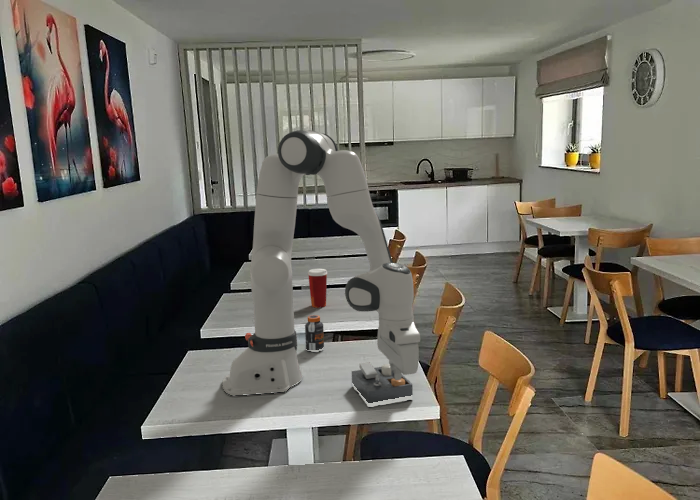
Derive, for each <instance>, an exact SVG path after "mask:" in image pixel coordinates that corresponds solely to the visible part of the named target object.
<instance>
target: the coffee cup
mask: <svg viewBox="0 0 700 500" xmlns="http://www.w3.org/2000/svg"><path fill="white" fill-rule="evenodd" d="M327 275H328V271H327V269H326V268H312V269H309V270H308V272H307V276H308V285H309V286H308V287H309V294H310V303H311V307H312V308H316V309H317V308H318V309H321V308H325V307H327V282H328V281H327V280H328V279H327V277H328V276H327Z"/></svg>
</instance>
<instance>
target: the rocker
mask: <svg viewBox="0 0 700 500" xmlns="http://www.w3.org/2000/svg"><path fill="white" fill-rule="evenodd" d="M374 368H375V367H374V366H373V365H372V363H371V361H368V362H367V361H366V362H360V363H359V370H361V371H362V372H363V374H364V375H365V377H366V379H370V378H376V375H377V372H376V370H375V369H374Z"/></svg>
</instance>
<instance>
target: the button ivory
mask: <svg viewBox="0 0 700 500" xmlns="http://www.w3.org/2000/svg"><path fill="white" fill-rule="evenodd" d="M381 367H382V375H383V376H390V375H391V368H390V364H389V363H385V364H382V365H381Z"/></svg>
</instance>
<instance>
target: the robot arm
mask: <svg viewBox="0 0 700 500" xmlns="http://www.w3.org/2000/svg"><path fill="white" fill-rule="evenodd" d="M305 175H306V176H311V175H312V176H315V175H317V176H319V177H320V179H321V180H322V181H323V182H322V183H323V185H324V190H325V195H326V200H327V206H328V209H329V212H330V215H331V217H332V220H333V221H334V222H335V223H336V224H338V225H339V226H341V227H342V228H343V229H348V230H350V231H352V232H354V233H355V234H357V235H358V237H360V239H361V240H362V242H363V246H364V250H365V252H366V253H365V254H366V256H367V259H368V264H369V271H367V272H363V273H360V274H358V275H355V276H353V277H352V278H350V279H349V280H348V281H347V283H346V285H345V287H344V288H345V289H344V295H345V300H346V302H347V303H348V305H349V306H350V307H351V308H352V309H353V310H355V311H356V312H374V311H375V312H378V327H377V328H378V329H377V341H376V342H377V343H376V345H377V350H379V352H380V353H382V354H383V356H385V358H386V359H387V360H388V364H390V368H391V376H392V377H393V378H394V379H395V380H400V379H401V374H402V375H403V376H407V375H408V376H409V375H414V374H416V373H418V369H419V360H420V358H419V357H420V356H419V354H420V351H419V343H420V342H421V333H420V332H419V331H418V329H417V326H416V324H415V322H414V310H413V303H414V298H415V296H414V280H413V274H412V271H411V270H410V268H409V267H407V266H406V265H404V264H401V263H396V262H393V259H392V258H393V257H392V256H391V252H390V248H389V245H388V241H387V238H386V234H385V231H384V228H383V224H382V222H381V220H380V217H379V216H378V214H377V212H376V210H375V208H374V205H373V202H372V198H371V194H370V190H369V185H368V179H367V177H366V173H365V170H364V167H363V164H362V162H361V160H360V157H359V156H358V155H357V153H355V152H354V151H351V150H348V149H347V150H346V149H344V150H343V149H340V150H339V147H338V144H337V142H336V141H335V140H334V139H333V138H332V137H331V136H329V135H328V134H326V133H322V132H319V131H316V130H301V129H298V130H294V131H290V132H288V133H287V134H285V135H284V136H283V137H282V138H281V140H280V141H279V144H278V147H277V153H271V154H269V155H267V156H266V157H264V158H263V161H262V163H261V166H260V171H259V174H258V179H257V185H256V197H255V209H254V221H253V222H254V223H253V224H254V225H253V240H252V254H251V261H250V267H249V274H250V286H251V295H252V296H251V297H252V305H253V321H254V333H251V332H246V333H245V335H244V337H245V340H246V341H247V342H248V345H247V346H248V347H247V348H246V349H245V350H243V352H241V353H240V354H239V355H238V356H236V357H235V358H234V359H233V360H232V362H231V365H230V369H229V374H226V376H224V378H222V379H223V380H222V384H221V386H222V385H223V386H222V390H223V389H224V390H223V392H224V391H225V392H226V393H228V394H230V395H243V394H256V393H271V392H284V391H287V390H288V389H289V388H290V387H291V386H292V385H294V384H296V383H297V382H299V381H300V380H301V378H302V376H303V374H302V371H301V369H300V364H299V360H298V355H297V354H298V353H297V350H298V336H297V331H296V329H295V314H294V313H295V311H294V310H295V309H294V289H293V269H292V268H293V266H292V252H293V243H294V234H295V228H296V219H297V218H296V217H297V206H298V197H299V196H298V195H299V185H300V182H301V179H302V178H303V177H304V176H305ZM291 388H292V387H291ZM291 388H290V389H291ZM290 389H289V390H290ZM289 390H288V391H289ZM288 391H287V392H288ZM225 392H224V393H225ZM226 393H225V394H226ZM228 394H227V395H228ZM230 395H229V396H230Z"/></svg>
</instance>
